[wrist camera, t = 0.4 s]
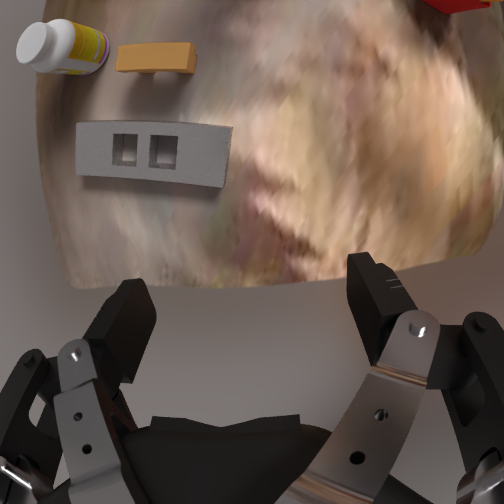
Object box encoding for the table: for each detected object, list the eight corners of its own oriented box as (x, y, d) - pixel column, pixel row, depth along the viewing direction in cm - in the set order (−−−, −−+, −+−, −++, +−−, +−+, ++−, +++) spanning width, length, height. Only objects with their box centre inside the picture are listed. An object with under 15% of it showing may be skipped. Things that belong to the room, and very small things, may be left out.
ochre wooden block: (140, 54, 28) (119, 45, 22) (202, 53, 28) (190, 42, 22) (137, 75, 29) (115, 70, 23) (198, 76, 29) (186, 69, 24)
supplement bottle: (102, 22, 25) (46, 1, 13) (118, 55, 27) (61, 40, 16) (66, 52, 26) (5, 45, 15) (80, 84, 29) (18, 85, 17)
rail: (88, 120, 31) (76, 122, 29) (233, 126, 32) (230, 128, 30) (86, 169, 34) (75, 174, 32) (225, 181, 35) (223, 187, 33)
